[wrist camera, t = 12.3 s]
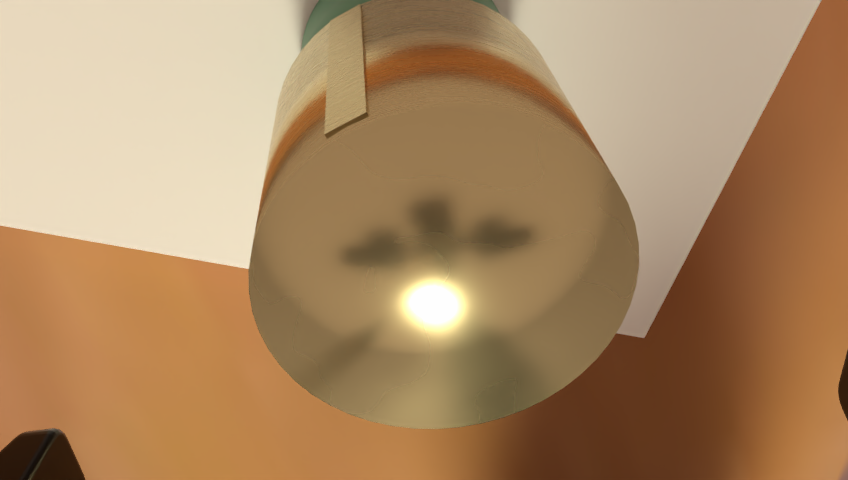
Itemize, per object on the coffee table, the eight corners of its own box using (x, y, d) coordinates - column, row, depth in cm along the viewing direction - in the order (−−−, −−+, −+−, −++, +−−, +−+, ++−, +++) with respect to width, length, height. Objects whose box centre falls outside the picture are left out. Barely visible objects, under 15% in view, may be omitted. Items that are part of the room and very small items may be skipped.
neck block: (862, -132, 18) (1015, -89, 14) (634, 317, 25) (693, 438, 21) (9, -412, 15) (-127, -468, 10) (3, 203, 21) (-83, 323, 17)
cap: (367, 294, 17) (374, 476, 13) (214, 81, 15) (162, 226, 10) (601, 181, 16) (689, 340, 12) (485, -70, 14) (548, 22, 9)
